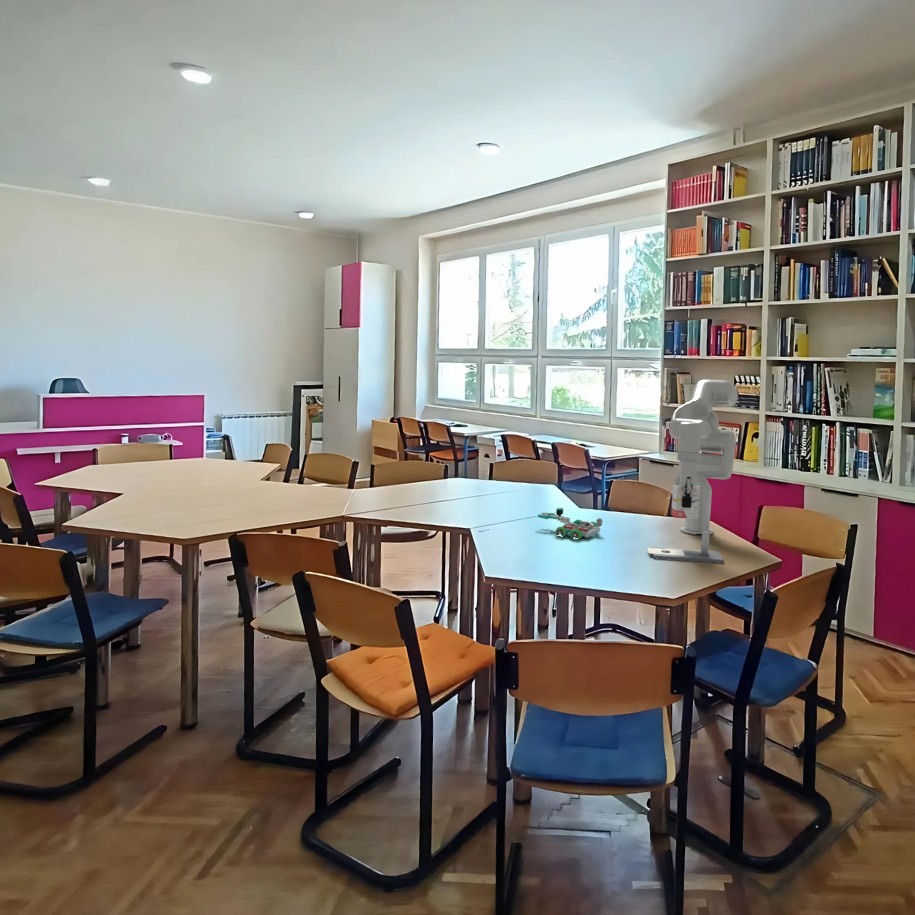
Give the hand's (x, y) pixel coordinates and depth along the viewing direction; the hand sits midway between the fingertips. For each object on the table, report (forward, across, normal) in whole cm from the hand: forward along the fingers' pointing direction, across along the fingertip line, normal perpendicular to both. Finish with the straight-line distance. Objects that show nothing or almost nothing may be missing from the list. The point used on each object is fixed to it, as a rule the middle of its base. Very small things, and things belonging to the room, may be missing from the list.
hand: (685, 505), depth 272 cm
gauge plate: (+16, +13, 0) cm, 20 cm away
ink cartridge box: (+5, 0, 0) cm, 5 cm away
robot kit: (+16, -12, -43) cm, 47 cm away
